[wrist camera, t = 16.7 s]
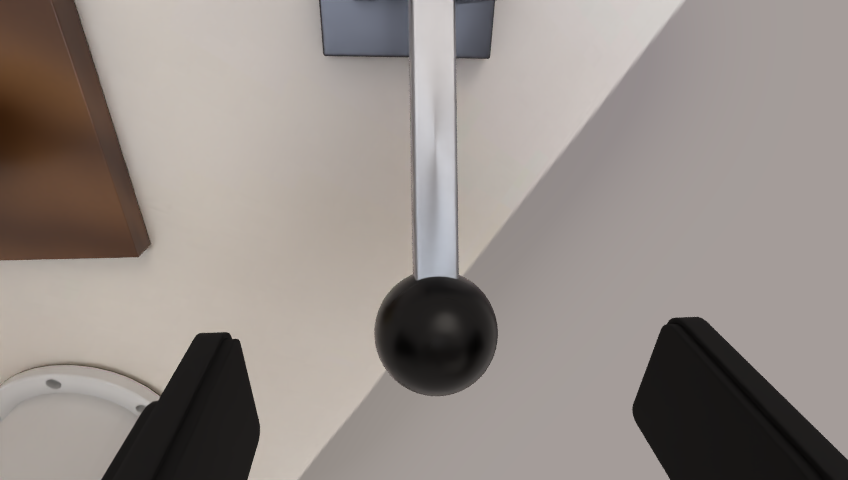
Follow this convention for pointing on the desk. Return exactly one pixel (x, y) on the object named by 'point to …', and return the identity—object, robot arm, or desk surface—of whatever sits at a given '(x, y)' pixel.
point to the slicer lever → (434, 232)
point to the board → (59, 144)
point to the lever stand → (398, 28)
